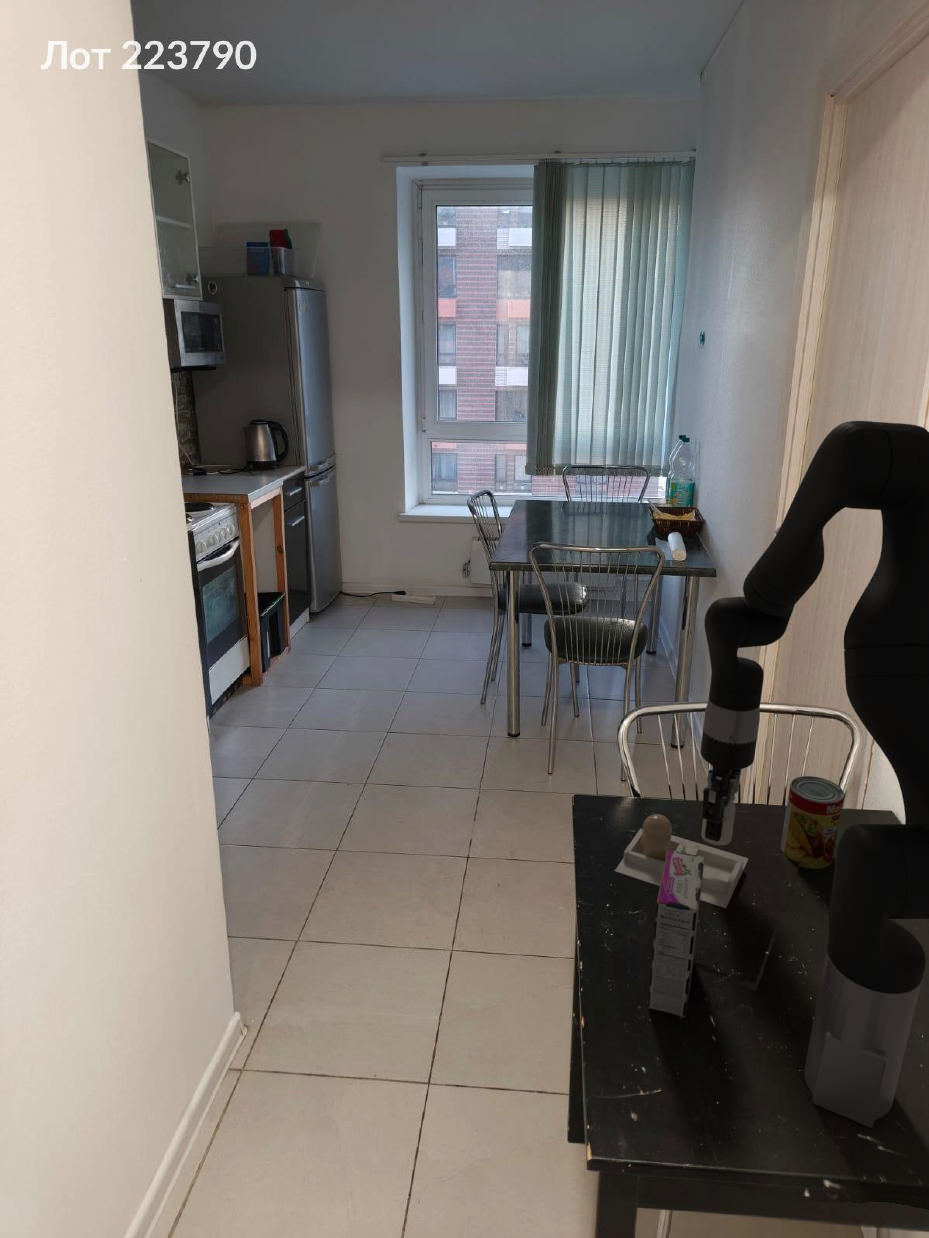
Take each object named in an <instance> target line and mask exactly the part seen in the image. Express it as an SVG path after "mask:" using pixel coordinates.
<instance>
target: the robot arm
mask: <svg viewBox="0 0 929 1238" xmlns="http://www.w3.org/2000/svg"><path fill="white" fill-rule="evenodd" d="M847 508H848V509H855V510H856V509H857V510H874V511H880V514H881V521H882V523H881V524H882V528H881V529H882V535H881V537H882V538H881V551H880V556H879V560H878V562H877V566H876V568H875V571H874V572H873V575H872V577H871V579H870V580H869V582H868V583H867V585H866V587H865V588H864V590H863V592H862V594H861V596H860V597H859V599H858V600H857V602H856V604H855V606H854V608H853V609H852V612H851V613H850V616H849V618H848V620H847V623H846V626H845V629H844V633H843V634H844V635H843V656H844V657H843V659H844V675H845V676H844V678H845V679H844V680H845V690H846V694H847V698H848V700H849V703H850V704H851V707H852V709H853V711H854V712H855V714H856V716H857V717H858V719H859V720H860V722H861V723H862V725H863V726H864V728H865V729H866V731H867V732H868V733H869V735H870V736H871V737H872V738H873V740H874V742H875V743H876V745H878V747H879V748H880V750H881V751H882V753H883V755H884V756H885V758H886V759H887V761H888V762H889V764H890V765H891V767H892V769H893V771H894V774H895V776H896V778H897V781H898V784H899V788H900V793H901V795H902V796H901V797H902V801H903V803H902V804H903V809H904V810H903V811H904V819H905V820H904V822H905V824H904V823H900V824H899V823H896V824H894V823H888V824H887V823H881V824H880V823H862V824H861V823H859V824H852V825H850V826H849V827H848V828H846V829H845V830H844V832H843V833H842V834H841V836H840V839H839V840H838V841H839V842H838V846H837V849H836V854H835V859H834V860H835V861H834V870H833V871H834V872H833V880H832V881H833V882H832V887H831V888H832V889H831V897H830V902H829V909H828V910H829V911H828V941H827V947H826V953H825V958H824V963H823V968H822V973H821V977H820V978H821V979H820V983H819V989H818V992H817V993H818V994H817V999H816V1005H815V1011H814V1015H813V1021H812V1026H811V1031H810V1035H809V1036H810V1037H809V1041H808V1042H809V1043H808V1048H807V1053H806V1059H805V1065H804V1069H803V1071H804V1073H803V1075H804V1080H805V1083H806V1085H807V1087H808V1090H810V1091H809V1092H811V1095H812V1098H811V1103H812V1104H813V1105H816V1106H817V1107H821V1108H823V1109H824V1110H828V1111H830V1112H832V1113H835V1114H836V1115H837V1114H838V1115H839V1116H842V1117H844V1118H847V1119H849V1120H852V1121H854V1122H856V1123H859V1124H861V1125H863V1126H865V1127H868V1128H872V1129H873V1128H874V1126H875V1122H876V1121H877V1120H879V1119H881V1118H884V1117H885V1116H886V1115H887V1114H888V1113H889V1112H890V1110H891V1109H892V1107H893V1104H894V1099H895V1095H896V1091H897V1088H898V1082H899V1079H900V1073H901V1069H902V1066H903V1065H902V1064H903V1060H904V1056H905V1054H906V1053H905V1051H906V1048H907V1044H908V1039H909V1035H910V1031H911V1028H912V1027H911V1026H912V1023H913V1019H914V1013H915V1009H916V1007H917V1002H918V998H919V994H920V989H921V987H922V982H923V981H922V980H923V978H924V973H925V969H926V961H927V958H926V952H925V950H924V948H923V945H922V944H921V943H920V941H919V940H918V938H917V937H915V935H914V934H913V933H912V932H911V931H909V930H908V929H906V928H905V927H903V926H902V925H900V924H899V923H897V922H895V921H894V920H926V919H927V920H929V431H928V430H927V429H926V428H924V427H923V426H921V425H916V424H911V423H902V422H901V423H900V422H896V423H895V422H883V421H881V422H880V421H873V420H869V421H868V420H850V421H845V422H842V423H839V424H838V425H836V426H835V427H834V428H833V429H832V430H831V431H830V432H829V433H828V434H827V435H826V436H825V437H824V438H823V440H822V442H821V443H820V445H819V447H818V448H817V450H816V452H815V454H814V455H813V457H812V460H811V461H810V463H809V465H808V468H807V470H806V472H805V474H804V476H803V478H802V480H801V483H799V486H798V489H797V491H796V492H795V495H794V497H793V500H792V502H791V504H790V506H789V508H788V510H787V512H786V515H785V517H784V519H783V521H782V523H781V525H780V527H779V529H778V531H777V533H776V534H775V536H774V538H773V539H772V541H771V542H770V544H769V545H768V547H767V548H766V549H765V550H764V552H763V553H762V555H761V556H760V557H759V559H758V560H757V561H756V563H755V564H754V565H753V566H752V567H751V569H750V571H749V572H748V573H747V575H746V577H745V579H744V580H743V583H742V584H743V586H742V592H743V596H732V597H731V596H730V597H722V598H721V597H720V598H718V599H717V600H716V599H715V600H714V601H713V603H711V604H710V605H709V606H708V609H707V610H706V613H705V616H704V620H703V621H704V625H703V626H704V631H705V636H706V641H707V647H708V652H709V653H708V654H709V661H710V668H711V674H710V675H711V676H710V683H709V684H710V685H709V691H708V693H709V695H708V700H707V704H706V707H705V712H704V717H703V727H702V736H701V744H700V755H701V757H702V759H703V760H704V761H705V762H707V763H708V764H709V765H711V766H712V769H709V771H708V773H707V778H706V781H707V787H705V788H704V789H703V792H702V793H703V796H702V797H703V798H702V801H703V802H702V820H703V819H706V820H707V822H706V830H705V837H706V838H707V839H710V840H713V841H717V842H718V841H719V840H720V838H721V834H722V826H723V819H724V818H725V816H724V815H725V810H726V807H727V806H728V805H729V804H730V803H731V799H732V800H733V802H735V800H736V796H735V795H736V794H737V793H739V785H740V779H741V776H742V770H743V769H746V768H749V767H750V766H752V764H753V763H754V761H755V757H756V756H755V754H756V749H757V741H758V735H759V734H758V733H759V727H760V721H761V720H760V718H761V708H760V707H761V700H762V699H761V698H762V693H763V686H764V678H765V677H764V676H765V674H764V669H763V667H762V665H761V664H760V663H758V662H757V661H755V660H753V659H749V658H746V657H741V656H738V650H739V649H744V648H754V647H756V648H757V647H764V646H769V645H772V644H773V643H775V642H777V641H779V640H780V639H781V638H782V637H783V636H784V634H785V633H786V630H787V628H788V625H789V623H790V620H791V616H792V614H793V611H794V608H795V605H796V604H797V603H798V602H799V600H801V598H802V597H803V596H804V595H805V594H806V593H807V591H808V590H809V589H810V588H811V587H813V585H814V583H815V582H816V580H817V579H818V577H819V575H820V574H821V573H822V570H823V566H824V562H825V544H824V535H823V534H824V529H825V526H826V525H827V524H828V522H830V520H831V519H832V518H834V517H835V516H836V514H838V513H839V512H841V511H842V510H844V509H847ZM723 796H725V797H726V799H723Z"/></svg>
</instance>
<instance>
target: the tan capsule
mask: <svg viewBox="0 0 929 1238" xmlns="http://www.w3.org/2000/svg"><path fill="white" fill-rule="evenodd" d="M642 825H643V826H642V829H643V832H642V843H641V854H642V855H645V856H648V857H651V858H655V859H658V860H661V861H664V862H665V859H666V854H667V851H668V850H669V851H670V842H671V835H672V831H673V830H672V829H673V828H672V823H671V821H670V820H669V819H668V817H666V816H665V815H662V814H659V813H654V814H651V815H649V816H648V817H646V819H645V820H644V822H643V824H642Z"/></svg>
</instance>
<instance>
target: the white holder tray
mask: <svg viewBox="0 0 929 1238" xmlns="http://www.w3.org/2000/svg"><path fill="white" fill-rule="evenodd" d="M642 832H643V828H641V827H640V828H639V830H638V831H637V833H636V834H635V836H634V837H633V839H632V840H631V842H630V843H629V844H628V845H627V846H626V848H625V849H624V852H623V858H622V860H620V862H619V864H618V865H617V867H616V869H614V872H616V873H619V874H622V875H626V876H628V877H631V878H634V879H637V880H640V881H643V882H646V883H649V884H651V885H655V886H657V887H660V885H661V880H662V875H663V870H664V864H665V862H664V861H661V860H658V859H655V858H651V857H648V856H645V855H642V854H641V843H642ZM670 851H677V852H679V853H686V854H690V855H696V856H701V857H704V868H703V878H702V887H701V896H700V901H703V902H705V903H709V904H711V905H715V906H718V907H721V908H723V909H727V906H728V904H729V902H730V900H731V898H732V896H733V895H734V894H733V893H734V891H735V889H736V887H737V885H738V883H739V881H740V878H741V876H742V874H743V872H744V870H745V868H746V866H747V863H748V861H749V858H748V857H744V856H741V855H739V854H735V853H732V852H729V851H726V850H725V851H724V850H722V849H719V848H716V847H711V846H709V845H707V844H702V843H699V842H695V841H692V840H689V839H685V838H683V837H679V836H676V835H672V834H671V842H670Z"/></svg>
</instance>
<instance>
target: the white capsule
mask: <svg viewBox="0 0 929 1238" xmlns="http://www.w3.org/2000/svg"><path fill="white" fill-rule="evenodd" d="M723 799H726V797H725V796H723ZM724 816H725V818H724V819H723V826H722V834H721V838H720V840H719V841H718V842H717V841H713V840H710V839H707V838H706V837H705V830H706V822H707V820H706V819H703V818H702V827H701V838H702V839H703V840H704V841H705V842H707V843H709V844H712V845H713V846H714V845H715V846H726V845H728V844H730V843H731V842H732V839H733V830H734V825H735V824H734V823H735V816H736V803H735V801H733V800H732V799H731V803H730V804H729V805H728V806H727V807H726V810H725V815H724Z"/></svg>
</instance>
